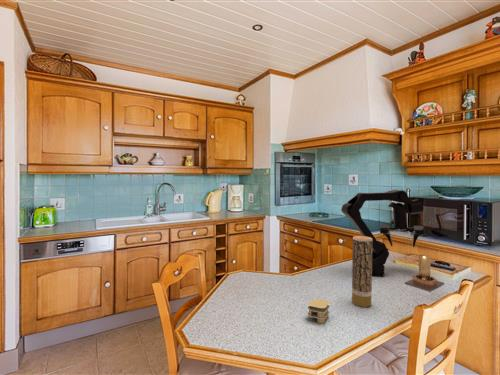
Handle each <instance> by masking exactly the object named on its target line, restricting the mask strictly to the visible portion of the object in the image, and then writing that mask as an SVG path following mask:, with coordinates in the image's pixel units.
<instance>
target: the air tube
mask: <svg viewBox="0 0 500 375" xmlns="http://www.w3.org/2000/svg"><path fill="white" fill-rule="evenodd" d="M431 259H432V258H431V256H430V255H428V254H418V274H419V279H422V280H427V281H430V276H431V265H432V264H431Z"/></svg>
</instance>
